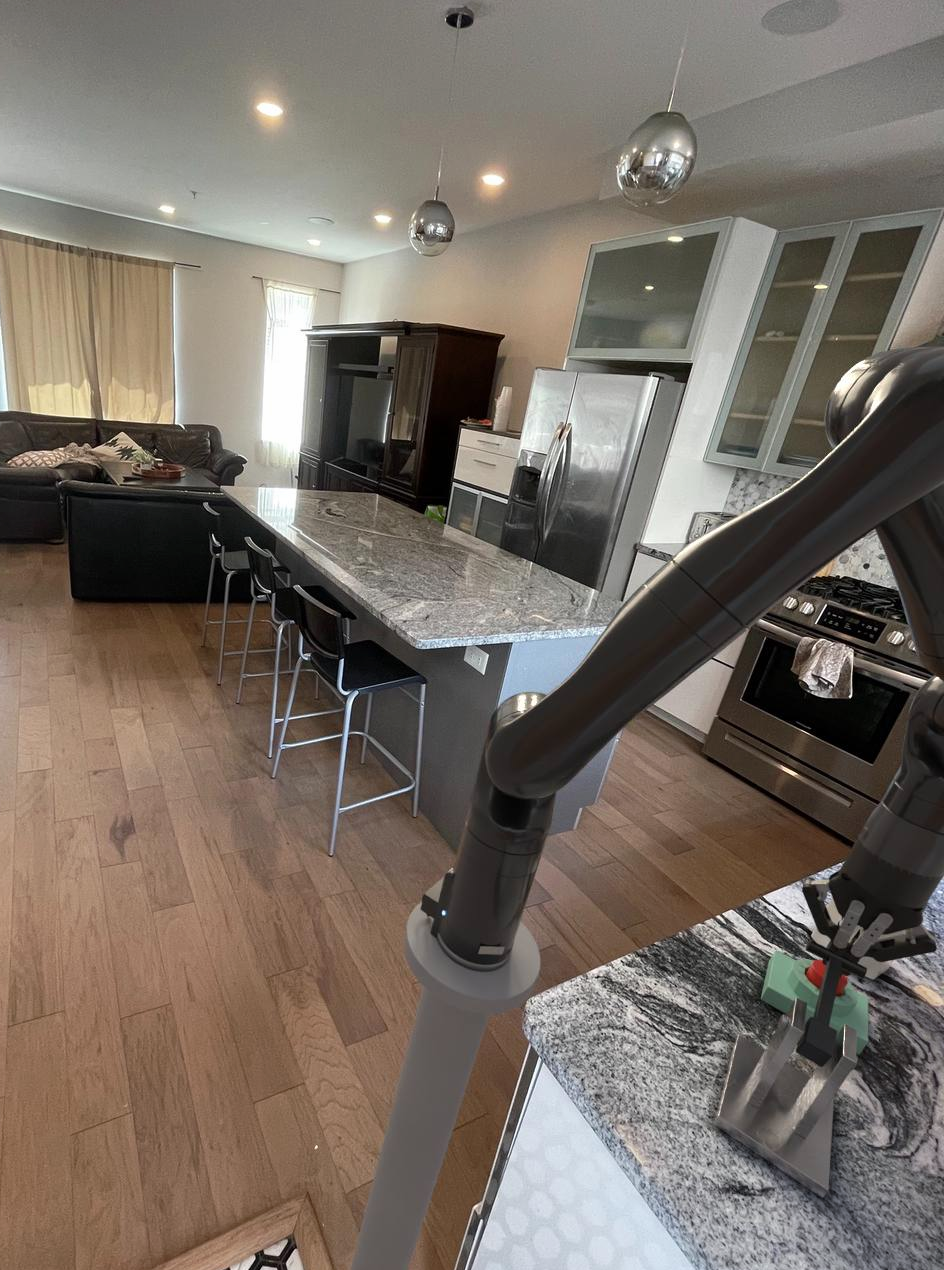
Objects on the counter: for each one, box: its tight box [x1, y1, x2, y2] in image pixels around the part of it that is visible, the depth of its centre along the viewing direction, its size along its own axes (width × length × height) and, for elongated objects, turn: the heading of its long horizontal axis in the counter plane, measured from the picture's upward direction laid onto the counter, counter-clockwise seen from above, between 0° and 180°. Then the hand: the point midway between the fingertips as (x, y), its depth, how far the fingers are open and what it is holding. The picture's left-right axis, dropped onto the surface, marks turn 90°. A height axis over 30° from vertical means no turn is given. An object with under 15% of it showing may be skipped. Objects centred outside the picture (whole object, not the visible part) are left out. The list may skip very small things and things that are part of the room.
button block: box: [760, 949, 869, 1056], centre depth 75 cm, size 10×8×4 cm
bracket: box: [713, 997, 859, 1199], centre depth 60 cm, size 12×9×12 cm
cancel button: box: [806, 959, 849, 996], centre depth 74 cm, size 4×4×2 cm
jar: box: [810, 896, 929, 980], centre depth 83 cm, size 9×8×12 cm
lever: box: [795, 939, 867, 1067], centre depth 61 cm, size 12×5×2 cm, turn 141°
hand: (832, 970), depth 73 cm, fingers closed
